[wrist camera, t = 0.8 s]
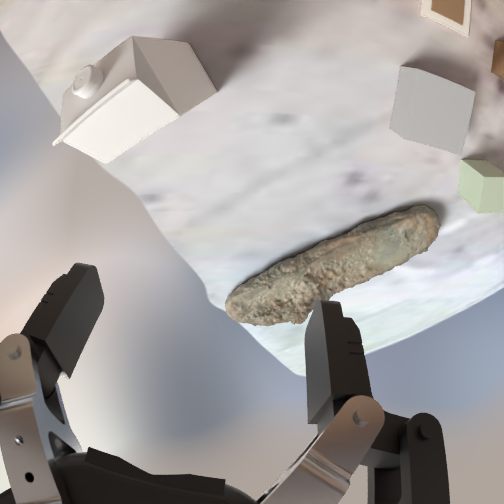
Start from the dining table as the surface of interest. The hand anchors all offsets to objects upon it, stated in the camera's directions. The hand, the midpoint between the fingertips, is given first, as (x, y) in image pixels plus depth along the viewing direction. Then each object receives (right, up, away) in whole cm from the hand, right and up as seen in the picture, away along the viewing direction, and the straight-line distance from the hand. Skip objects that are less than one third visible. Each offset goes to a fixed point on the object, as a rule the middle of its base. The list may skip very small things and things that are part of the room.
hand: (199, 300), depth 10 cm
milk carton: (-7, +21, +20) cm, 29 cm away
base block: (+22, +19, +18) cm, 35 cm away
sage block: (+33, +12, +23) cm, 41 cm away
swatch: (+25, +31, +9) cm, 41 cm away
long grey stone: (+13, 0, +34) cm, 36 cm away
